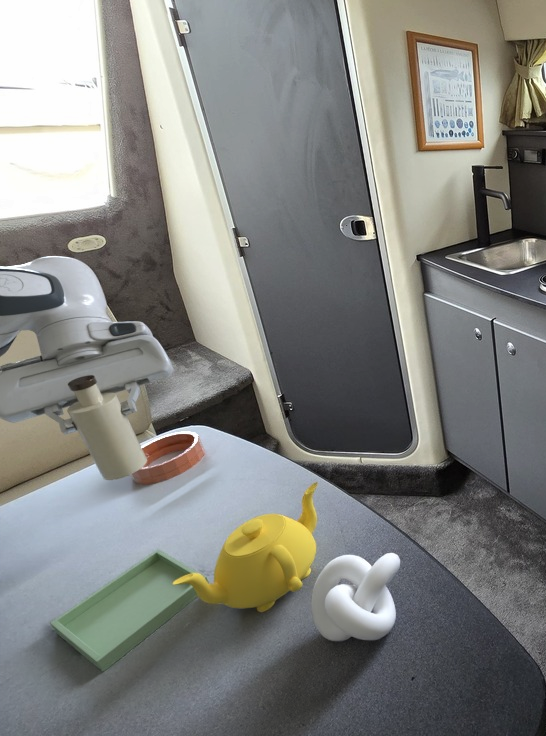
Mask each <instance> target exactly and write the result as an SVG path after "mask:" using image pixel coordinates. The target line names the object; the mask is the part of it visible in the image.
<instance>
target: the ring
mask: <svg viewBox="0 0 546 736" xmlns="http://www.w3.org/2000/svg"><path fill="white" fill-rule="evenodd" d="M141 447H142V449H143V451H144V453H145V455H146V457H147V462H146V464H145V465H144V466H143V467H142V468H141V469H139V470H138V471H136V472H134V473H132V474H130V476H131V478H132V480H133V481H134V483H136V484H140V485H152V484H158V483H161V482H165V481H168V480H170V479H173V478H175V477H177V476H180V475H182V474H183V473H185V472H187V471H188V470H190V469H192V468H193V467H194V466H195V465H196V464H198V463H199V462H200V461H201V460H202V458H203V457H204V455H205V447H204V444H203V443H202V440H201V438H200V435H199V434H197V432H194V431H178V432H173V433H170V434H169V433H168V434H166V435H163V436H160V437H158V438H155V439H153V440H151V441H149V442H147V443H145V444H143V445H141ZM179 451H183V452H182V453H180V454H178V455H177V456H175V457H173V458H171V459H169V460H166V461H163V462H161V463H157V464H154V465H151V464H152V463H153V462H155V461H157V460H158V459H160V458H162V457H164V456H166V455H169V454H171V453H175V452H179Z"/></svg>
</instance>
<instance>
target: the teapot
mask: <svg viewBox="0 0 546 736" xmlns="http://www.w3.org/2000/svg"><path fill="white" fill-rule="evenodd" d="M318 485H319V483H318V482H317V481H316V482H313V483H312V484H311V485H310V486H309V487H308V488H307V489H306V490H305V492H304V493H303V495H302V498H301V507H302V512H301V514H300V516H299V518H298V519H297V520H296V519H294V518H292V517H289V516H287V515H283V514H278V513H266V514H262V515H258V516H256V517H253V518H251V519H249V520H247V521H245V522H244V523H242V524H241V525H239V526H238V527H237V528H235V529H234V530H233V531H232V532H231V533H230V534H229V535H228V537H227V538H226V539H225V541H224V543H223V545H222V547H221V550H220V552H219V555H218V557H217V560H216V562H215V566H214V570H213V571H214V572H213V582H211V583H210V582H209V583H208V582H207V581H206V579H205V578H204V577H203V576H202V575H203V574H202V573H201V574H202V575H201V574H199V573H200V572H199V573H191V574H187V575H185V576H183V577H180V578H179V579H177V580H176V581H174V582H173V584H174V585H177V584H185V583H186V584H190V585H191V586H192V587H193V588H194V589H195V591H196V593H197V595H198V598H199V599H200V600H201V601H203V603H206V604H209V605H221V604H223V605H224V606H227V607H229V608H232V609H251V608H256V610H257V612H260V613H264V612H265V611H269V610H270V609H271V608H272V607H273V606H274V605H275V603H276V601H277V600H278V599H279V598H281V597H283V596H284V595H286V594H287V593H288V592H291V593H292V592H293V593H295V592H298V591H299V590H301V589H302V588H303V580H304V579H306V578H307V577H308V576H310V574H311V572H312V569H311V566H312V564H313V563H314V560H315V558H316V555H317V554H316V553H317V542H316V539H315V538H314V535H313V534H314V532H315V529H316V527H317V525H318V515H317V511H316V508H315V505H314V499H313V498H314V497H313V496H314V493H315V491H316V489H317V487H318Z"/></svg>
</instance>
